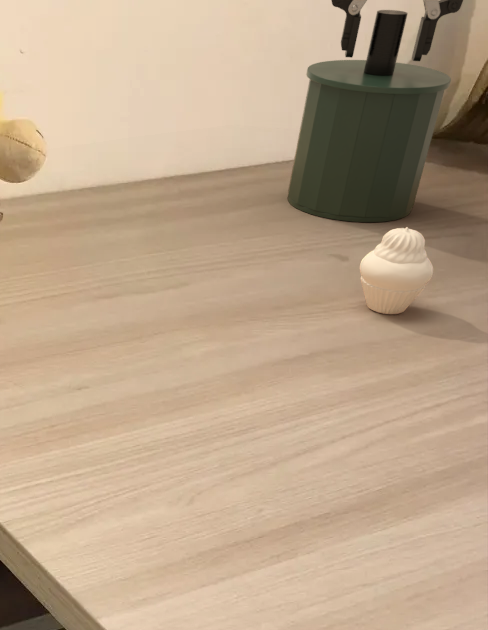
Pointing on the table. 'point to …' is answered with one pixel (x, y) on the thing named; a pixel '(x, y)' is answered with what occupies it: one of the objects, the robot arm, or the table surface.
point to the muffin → (395, 271)
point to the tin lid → (381, 65)
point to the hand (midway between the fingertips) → (381, 57)
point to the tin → (361, 153)
